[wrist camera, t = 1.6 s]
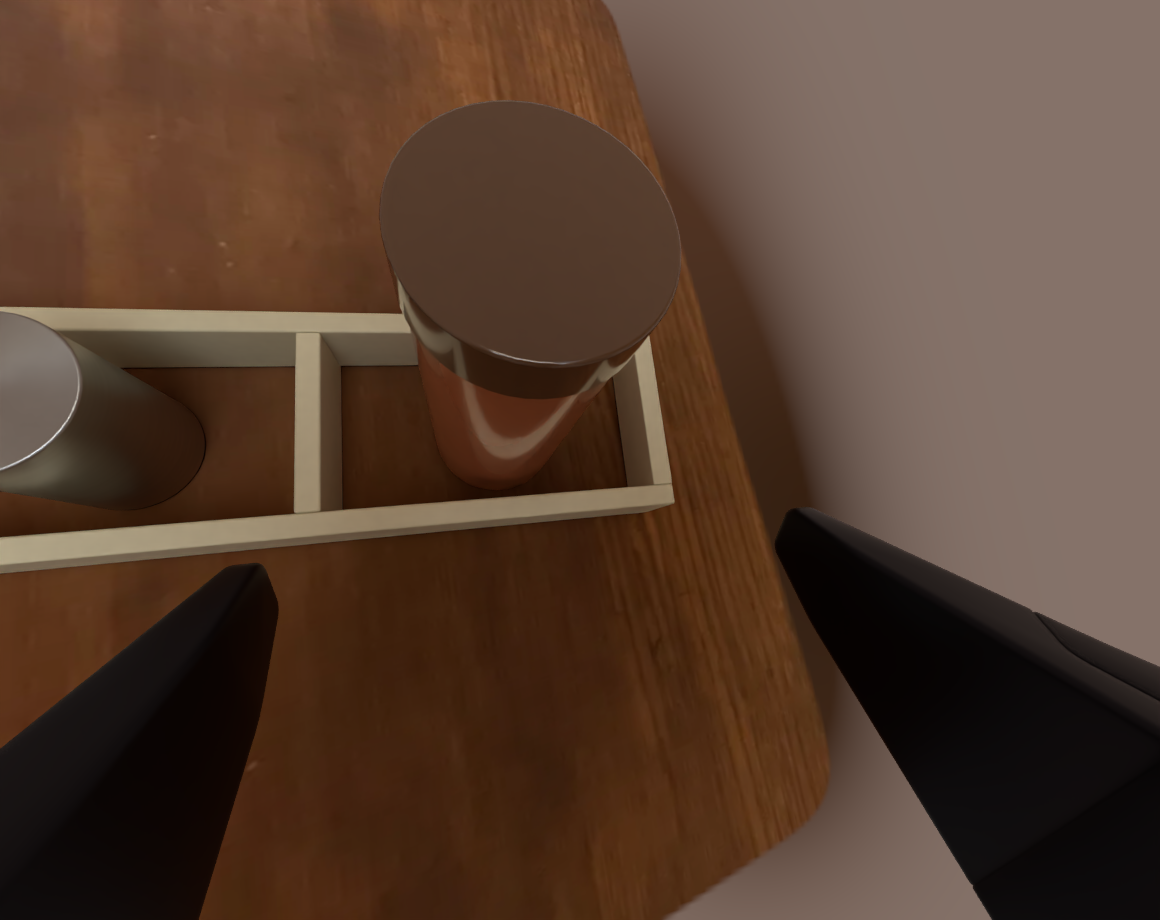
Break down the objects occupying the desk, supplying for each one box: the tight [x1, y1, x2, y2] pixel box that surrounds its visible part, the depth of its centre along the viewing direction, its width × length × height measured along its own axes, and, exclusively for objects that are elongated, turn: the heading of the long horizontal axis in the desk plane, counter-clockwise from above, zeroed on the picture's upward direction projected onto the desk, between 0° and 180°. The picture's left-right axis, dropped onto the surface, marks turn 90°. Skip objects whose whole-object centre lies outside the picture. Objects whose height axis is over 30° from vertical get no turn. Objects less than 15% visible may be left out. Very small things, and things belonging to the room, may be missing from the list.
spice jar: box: [379, 100, 681, 490], centre depth 14 cm, size 5×5×13 cm
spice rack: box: [0, 307, 674, 574], centre depth 17 cm, size 26×8×3 cm, turn 97°
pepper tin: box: [0, 311, 205, 510], centre depth 14 cm, size 4×4×6 cm
